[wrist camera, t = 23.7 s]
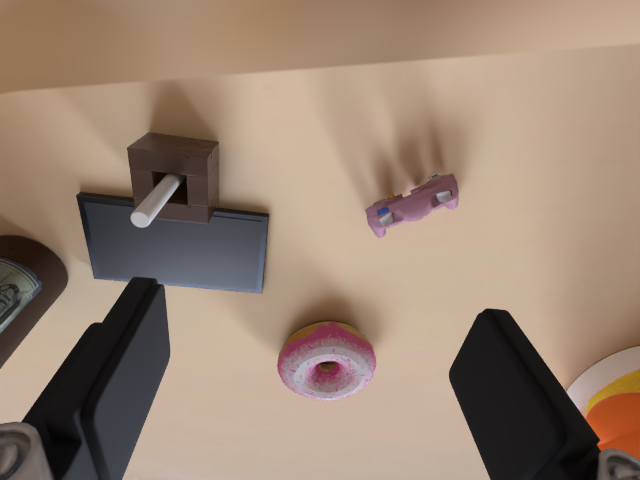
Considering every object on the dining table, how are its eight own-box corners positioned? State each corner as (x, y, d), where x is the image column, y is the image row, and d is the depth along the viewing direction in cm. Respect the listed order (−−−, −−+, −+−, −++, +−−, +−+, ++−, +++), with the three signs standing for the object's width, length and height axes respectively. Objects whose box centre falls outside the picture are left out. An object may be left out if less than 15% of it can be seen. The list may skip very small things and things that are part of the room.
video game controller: (442, 168, 40) (457, 162, 33) (457, 206, 40) (475, 208, 33) (360, 203, 42) (358, 204, 35) (375, 239, 42) (376, 247, 35)
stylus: (177, 158, 36) (128, 210, 26) (191, 159, 36) (148, 212, 26) (178, 170, 37) (131, 226, 27) (192, 172, 37) (150, 229, 27)
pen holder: (148, 132, 35) (126, 147, 31) (218, 141, 36) (207, 157, 31) (154, 195, 38) (135, 216, 34) (218, 202, 39) (208, 224, 35)
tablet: (80, 191, 38) (75, 195, 37) (269, 213, 40) (268, 217, 39) (97, 274, 43) (93, 279, 43) (262, 289, 46) (261, 294, 45)
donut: (391, 340, 52) (399, 368, 47) (334, 388, 57) (337, 418, 53) (316, 299, 47) (318, 327, 43) (262, 356, 52) (259, 386, 48)
